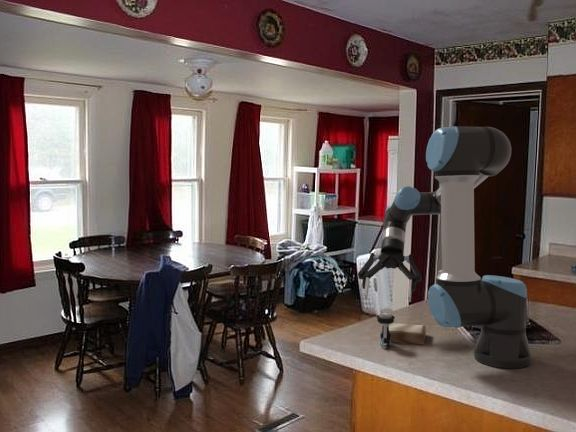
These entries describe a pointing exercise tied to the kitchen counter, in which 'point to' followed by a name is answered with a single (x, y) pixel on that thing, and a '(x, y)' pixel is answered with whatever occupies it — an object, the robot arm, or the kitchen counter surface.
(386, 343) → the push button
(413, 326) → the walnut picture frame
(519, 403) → the kitchen counter surface
